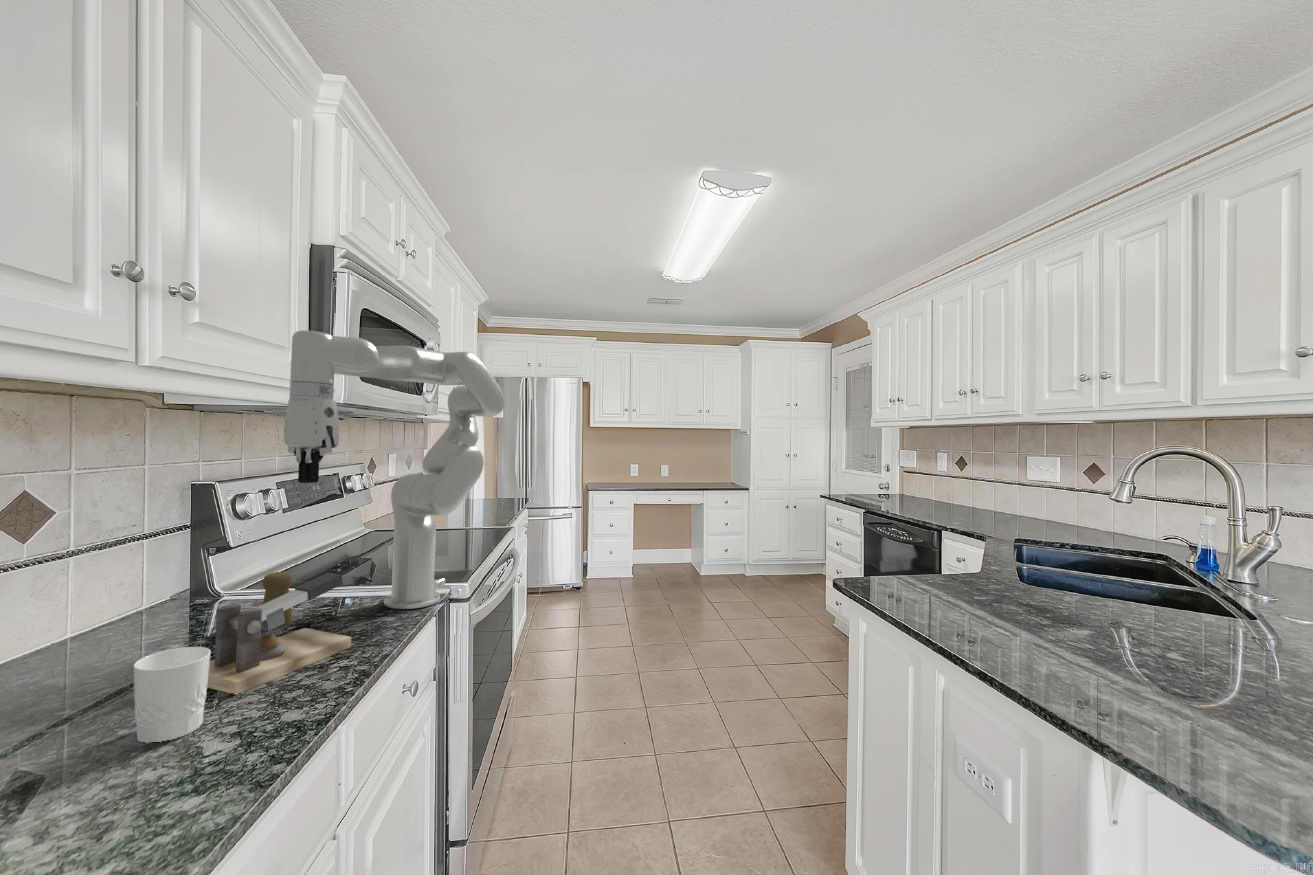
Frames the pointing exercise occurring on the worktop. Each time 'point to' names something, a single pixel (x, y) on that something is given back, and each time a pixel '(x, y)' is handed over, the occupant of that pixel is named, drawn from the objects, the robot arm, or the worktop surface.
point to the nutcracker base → (263, 651)
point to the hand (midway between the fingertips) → (308, 482)
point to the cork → (278, 591)
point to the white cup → (170, 693)
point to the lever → (293, 600)
